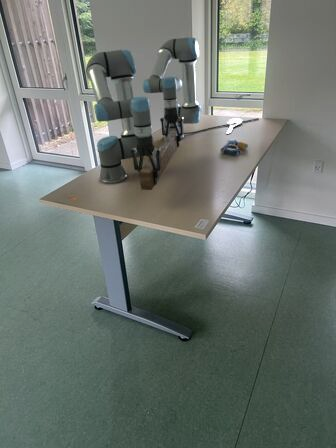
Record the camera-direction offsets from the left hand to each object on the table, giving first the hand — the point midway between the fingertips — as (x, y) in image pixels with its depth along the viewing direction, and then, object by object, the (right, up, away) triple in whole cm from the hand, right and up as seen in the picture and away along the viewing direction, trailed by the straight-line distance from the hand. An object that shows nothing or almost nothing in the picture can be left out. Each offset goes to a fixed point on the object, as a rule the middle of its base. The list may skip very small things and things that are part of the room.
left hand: (149, 183), depth 157 cm
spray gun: (+52, +28, +58) cm, 82 cm away
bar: (+6, +13, +22) cm, 27 cm away
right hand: (+12, +28, +44) cm, 54 cm away
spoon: (+59, +56, +103) cm, 131 cm away
